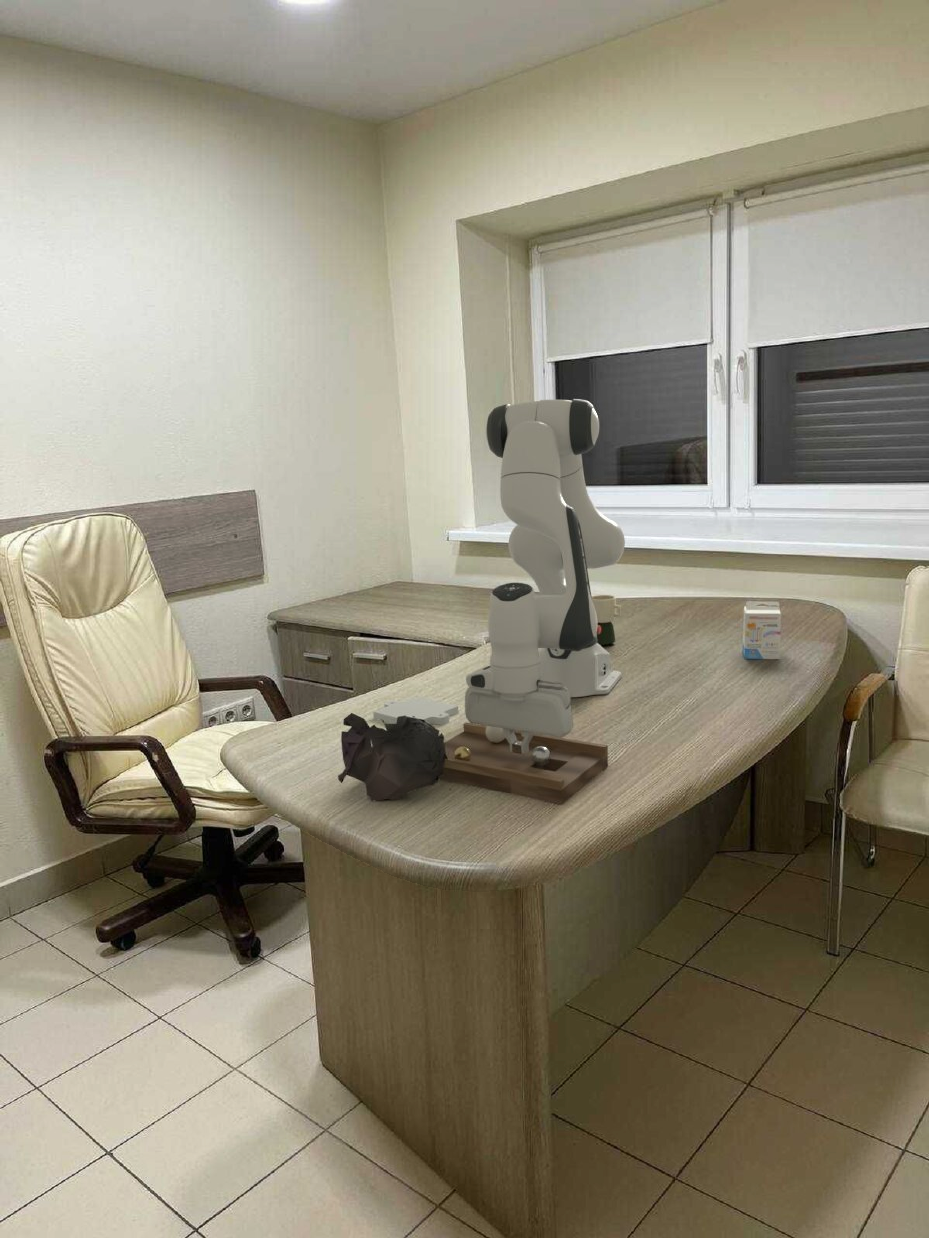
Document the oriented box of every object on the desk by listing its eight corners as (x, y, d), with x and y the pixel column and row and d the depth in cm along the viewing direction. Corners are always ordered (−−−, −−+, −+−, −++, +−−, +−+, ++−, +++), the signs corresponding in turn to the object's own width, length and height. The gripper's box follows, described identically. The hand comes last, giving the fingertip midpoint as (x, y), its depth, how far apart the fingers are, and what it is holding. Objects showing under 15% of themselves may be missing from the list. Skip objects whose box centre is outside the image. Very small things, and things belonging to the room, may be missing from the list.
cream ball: (493, 737, 173) (492, 717, 172) (511, 740, 171) (510, 720, 170) (481, 744, 170) (480, 723, 169) (500, 747, 168) (499, 726, 167)
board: (467, 741, 179) (466, 722, 178) (608, 766, 162) (607, 745, 162) (413, 773, 164) (411, 752, 163) (561, 804, 148) (560, 781, 147)
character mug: (628, 643, 246) (627, 596, 243) (615, 649, 241) (614, 601, 238) (592, 639, 253) (591, 593, 250) (579, 645, 247) (578, 598, 244)
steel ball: (534, 746, 161) (549, 741, 159) (542, 763, 161) (557, 758, 159) (524, 752, 159) (539, 747, 156) (532, 770, 158) (548, 766, 156)
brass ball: (460, 758, 163) (459, 743, 163) (474, 761, 162) (473, 745, 161) (451, 764, 161) (450, 748, 160) (465, 767, 159) (464, 751, 158)
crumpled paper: (325, 803, 152) (437, 820, 146) (325, 717, 150) (438, 731, 143) (361, 778, 165) (465, 793, 159) (362, 699, 163) (467, 711, 156)
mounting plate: (366, 717, 198) (365, 709, 198) (409, 702, 207) (408, 694, 207) (424, 733, 186) (423, 724, 185) (467, 716, 195) (466, 708, 195)
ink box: (744, 659, 225) (744, 606, 222) (742, 650, 233) (742, 599, 230) (780, 659, 223) (781, 606, 220) (777, 650, 231) (778, 599, 228)
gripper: (578, 679, 155) (580, 755, 158) (477, 666, 166) (481, 738, 169) (560, 689, 150) (563, 768, 153) (458, 675, 161) (462, 749, 164)
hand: (519, 752), depth 161 cm, fingers closed
